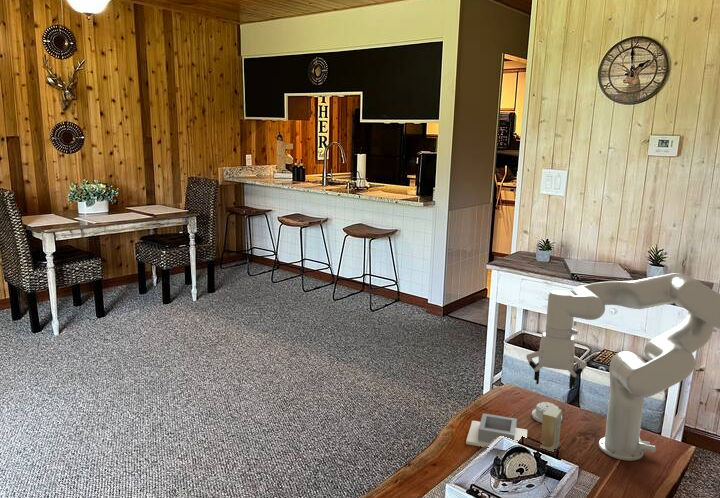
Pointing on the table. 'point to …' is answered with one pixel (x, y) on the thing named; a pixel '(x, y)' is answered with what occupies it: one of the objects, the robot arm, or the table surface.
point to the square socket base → (493, 430)
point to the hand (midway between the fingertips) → (553, 384)
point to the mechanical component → (542, 410)
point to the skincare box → (550, 428)
